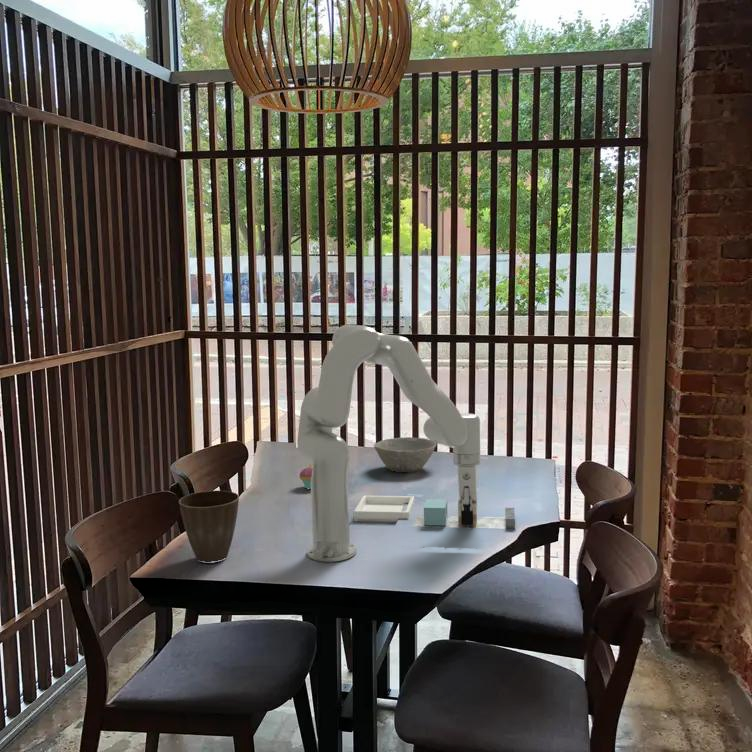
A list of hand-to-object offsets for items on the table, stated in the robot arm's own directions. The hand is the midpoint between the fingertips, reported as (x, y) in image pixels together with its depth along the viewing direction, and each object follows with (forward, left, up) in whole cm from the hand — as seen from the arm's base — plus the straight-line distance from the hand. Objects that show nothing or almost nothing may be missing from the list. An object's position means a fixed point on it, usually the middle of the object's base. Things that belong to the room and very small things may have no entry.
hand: (467, 520), depth 211 cm
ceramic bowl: (+61, +25, -2) cm, 66 cm away
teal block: (0, +9, 0) cm, 9 cm away
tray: (+10, +25, -2) cm, 27 cm away
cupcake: (+36, +54, -2) cm, 65 cm away
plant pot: (-30, +64, -2) cm, 71 cm away
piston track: (0, +1, -2) cm, 2 cm away
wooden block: (0, 0, 0) cm, 0 cm away
